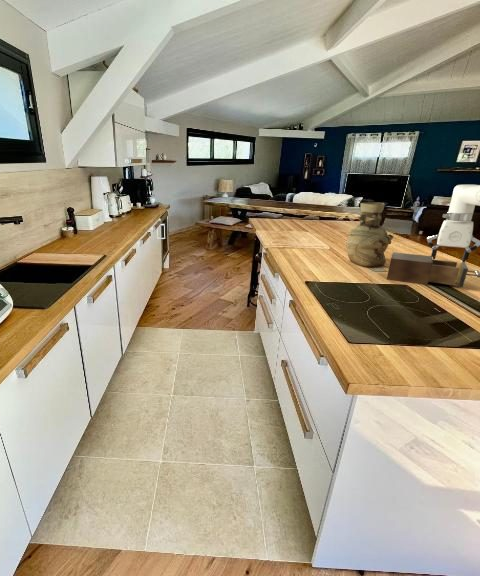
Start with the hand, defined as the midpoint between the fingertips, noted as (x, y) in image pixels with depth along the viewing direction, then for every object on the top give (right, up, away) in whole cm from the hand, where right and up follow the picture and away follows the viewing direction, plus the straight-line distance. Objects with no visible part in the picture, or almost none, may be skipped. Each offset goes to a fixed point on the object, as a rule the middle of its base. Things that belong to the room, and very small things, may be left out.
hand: (448, 260), depth 128 cm
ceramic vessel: (-16, +1, +34) cm, 38 cm away
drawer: (+2, -9, +2) cm, 9 cm away
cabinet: (-10, -7, +10) cm, 16 cm away
